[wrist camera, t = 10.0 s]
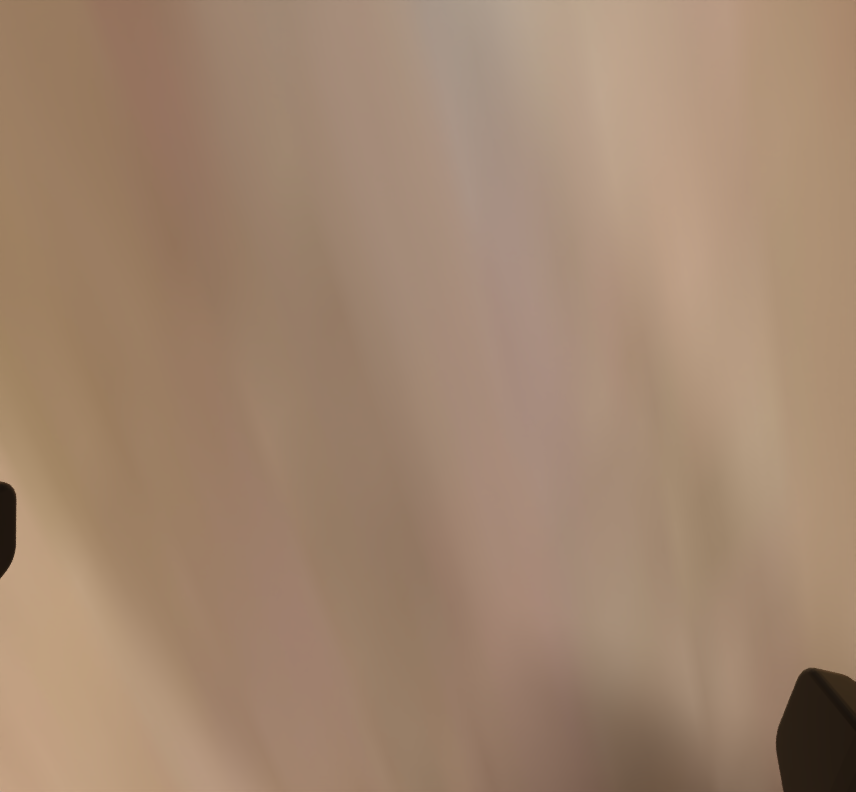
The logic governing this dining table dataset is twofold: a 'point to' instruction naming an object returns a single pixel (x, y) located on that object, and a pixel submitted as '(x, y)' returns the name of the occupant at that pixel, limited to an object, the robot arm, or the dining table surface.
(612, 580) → the dining table surface
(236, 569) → the dining table surface
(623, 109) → the dining table surface
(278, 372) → the dining table surface
